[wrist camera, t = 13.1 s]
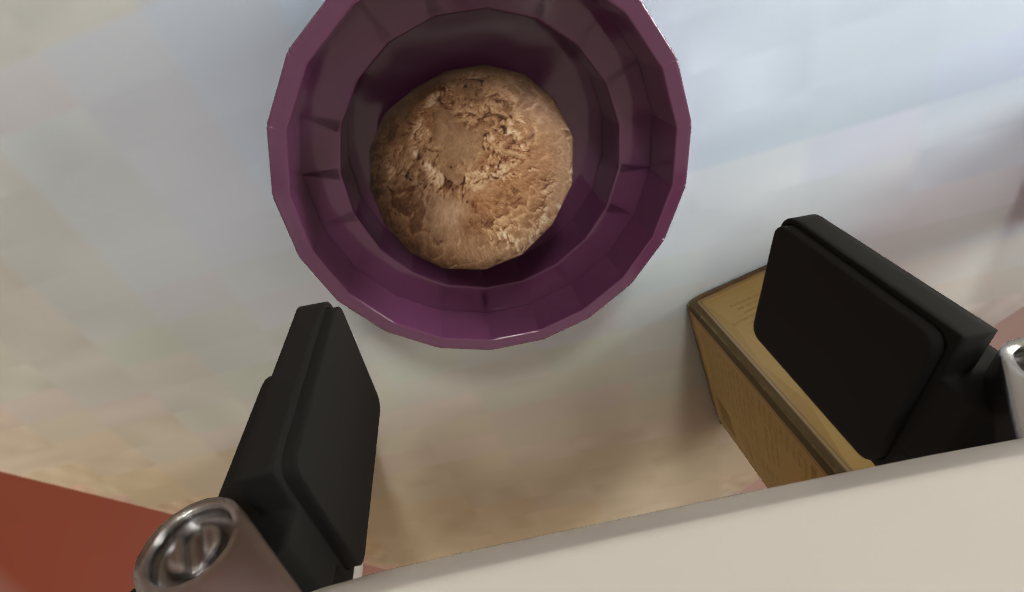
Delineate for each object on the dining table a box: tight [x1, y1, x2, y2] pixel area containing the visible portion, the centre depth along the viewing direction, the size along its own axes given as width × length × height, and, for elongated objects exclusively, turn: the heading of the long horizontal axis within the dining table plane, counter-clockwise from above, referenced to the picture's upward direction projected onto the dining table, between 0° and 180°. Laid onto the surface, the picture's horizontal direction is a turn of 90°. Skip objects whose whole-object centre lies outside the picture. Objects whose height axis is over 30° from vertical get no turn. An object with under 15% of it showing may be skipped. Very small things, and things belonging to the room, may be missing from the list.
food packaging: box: [687, 265, 875, 488], centre depth 22 cm, size 13×9×25 cm
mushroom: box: [369, 64, 575, 270], centre depth 19 cm, size 8×8×6 cm
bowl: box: [267, 0, 691, 350], centre depth 20 cm, size 15×15×5 cm
